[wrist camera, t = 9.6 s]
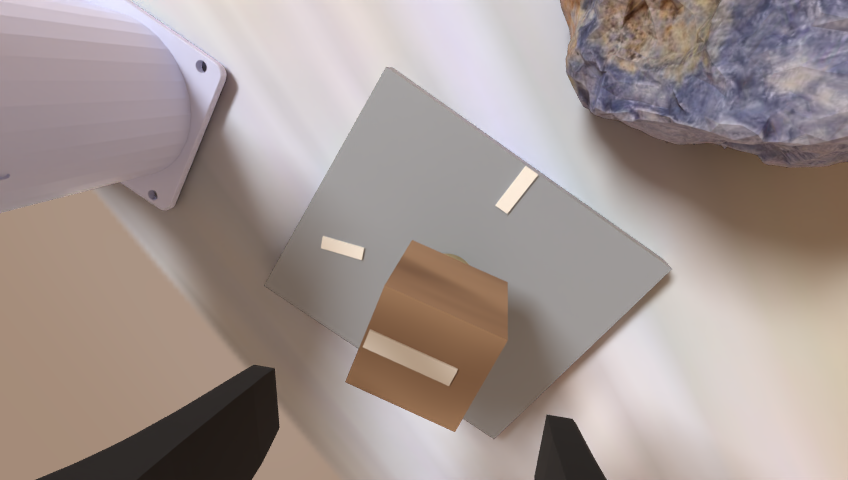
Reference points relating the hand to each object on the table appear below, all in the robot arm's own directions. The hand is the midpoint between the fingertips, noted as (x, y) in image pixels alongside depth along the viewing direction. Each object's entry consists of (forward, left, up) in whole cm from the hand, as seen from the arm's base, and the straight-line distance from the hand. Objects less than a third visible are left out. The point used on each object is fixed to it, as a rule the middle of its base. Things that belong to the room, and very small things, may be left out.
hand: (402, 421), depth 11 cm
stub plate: (0, 0, -10) cm, 10 cm away
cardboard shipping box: (0, 0, -7) cm, 7 cm away
